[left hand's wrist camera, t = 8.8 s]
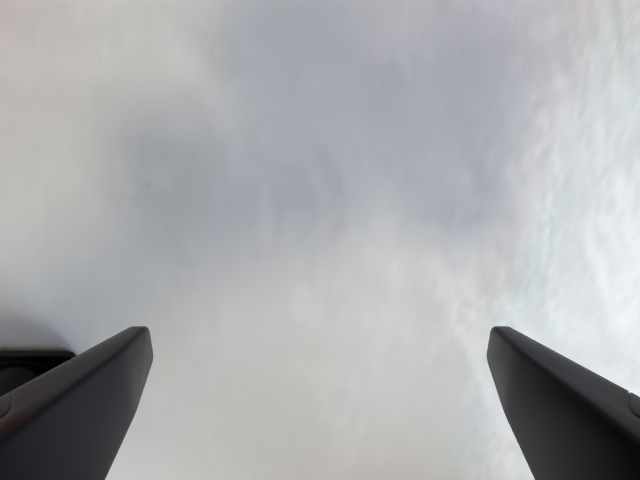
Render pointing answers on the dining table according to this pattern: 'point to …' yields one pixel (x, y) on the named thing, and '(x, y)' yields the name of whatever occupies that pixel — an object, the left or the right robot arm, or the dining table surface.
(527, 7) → the dining table surface
